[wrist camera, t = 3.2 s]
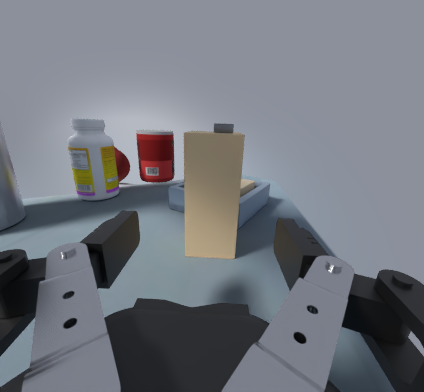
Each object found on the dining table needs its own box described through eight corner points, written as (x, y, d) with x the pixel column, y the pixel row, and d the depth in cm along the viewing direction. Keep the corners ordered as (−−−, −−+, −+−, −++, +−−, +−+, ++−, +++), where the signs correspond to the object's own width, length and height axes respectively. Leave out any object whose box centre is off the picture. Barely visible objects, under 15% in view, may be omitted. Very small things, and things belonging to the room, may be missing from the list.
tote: (169, 208, 33) (168, 186, 32) (210, 190, 42) (210, 173, 41) (238, 229, 27) (240, 204, 26) (267, 202, 37) (270, 183, 35)
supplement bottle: (117, 188, 42) (109, 120, 37) (122, 198, 36) (113, 120, 32) (78, 192, 38) (64, 118, 34) (76, 204, 33) (60, 118, 29)
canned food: (180, 179, 50) (179, 131, 46) (148, 184, 45) (144, 131, 41) (165, 173, 55) (163, 130, 52) (135, 177, 50) (130, 129, 47)
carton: (185, 256, 21) (183, 122, 17) (191, 232, 26) (191, 122, 22) (234, 259, 21) (245, 124, 17) (232, 234, 26) (239, 124, 21)
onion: (123, 178, 49) (119, 143, 47) (136, 182, 46) (133, 145, 43) (97, 182, 45) (91, 144, 42) (110, 188, 42) (104, 147, 39)
